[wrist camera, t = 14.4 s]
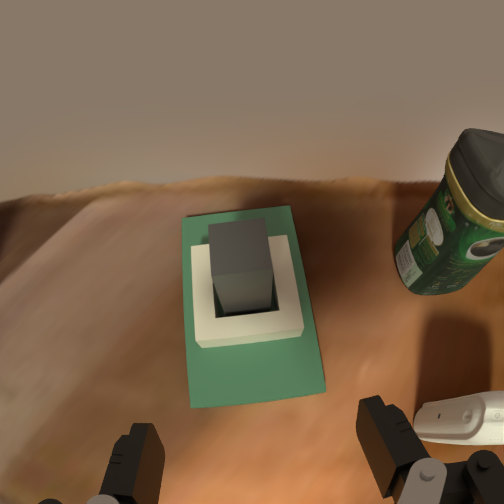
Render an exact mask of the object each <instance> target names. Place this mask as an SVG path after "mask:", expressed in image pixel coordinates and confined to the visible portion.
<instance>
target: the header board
mask: <svg viewBox="0 0 504 504" xmlns="http://www.w3.org/2000/svg"><path fill="white" fill-rule="evenodd" d="M258 218H265V224H266V229H267V235H268V241H269V247H270V253H271V259H272V265H273V279H272V294H271V309H270V312H264V313H256V314H248V315H240V316H231V317H226V316H225V313H224V311H223V308H222V305H221V302H220V300H219V297H218V294H217V291H216V288H215V286H214V283H213V280H212V277H211V266H210V251H209V235H208V224H216V223H224V222H232V221H241V220H249V219H258ZM182 268H183V300H184V323H185V341H186V356H187V370H188V383H189V395H190V406H191V408H207V407H221V406H232V405H243V404H252V403H260V402H268V401H276V400H283V399H290V398H296V397H302V396H308V395H314V394H319V393H324V392H326V386H325V380H324V374H323V368H322V363H321V357H320V351H319V346H318V340H317V335H316V329H315V324H314V318H313V313H312V308H311V303H310V298H309V293H308V288H307V283H306V278H305V273H304V268H303V263H302V259H301V254H300V249H299V245H298V240H297V235H296V231H295V226H294V222H293V217H292V213H291V209H290V205H288V206H279V207H270V208H261V209H252V210H243V211H235V212H226V213H218V214H210V215H203V216H195V217H187V218H182Z"/></svg>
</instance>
